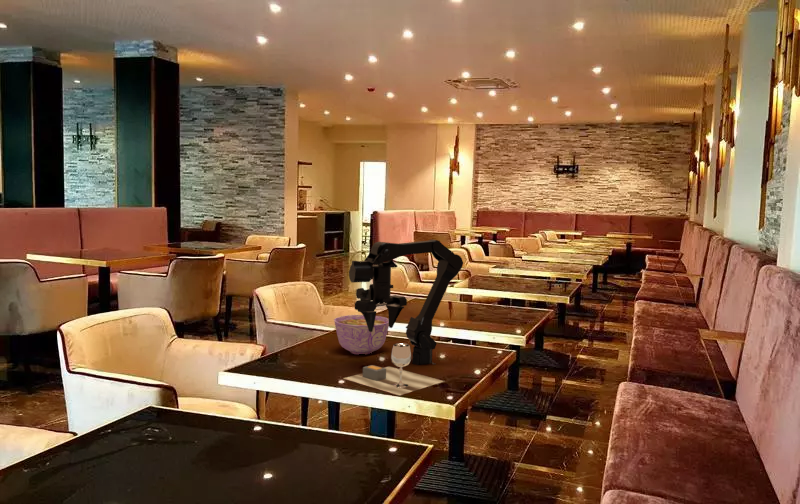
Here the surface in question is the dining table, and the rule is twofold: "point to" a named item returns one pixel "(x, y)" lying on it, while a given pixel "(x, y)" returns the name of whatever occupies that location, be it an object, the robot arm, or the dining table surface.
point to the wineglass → (401, 360)
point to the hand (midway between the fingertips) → (380, 329)
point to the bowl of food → (361, 333)
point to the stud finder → (374, 372)
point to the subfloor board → (396, 381)
